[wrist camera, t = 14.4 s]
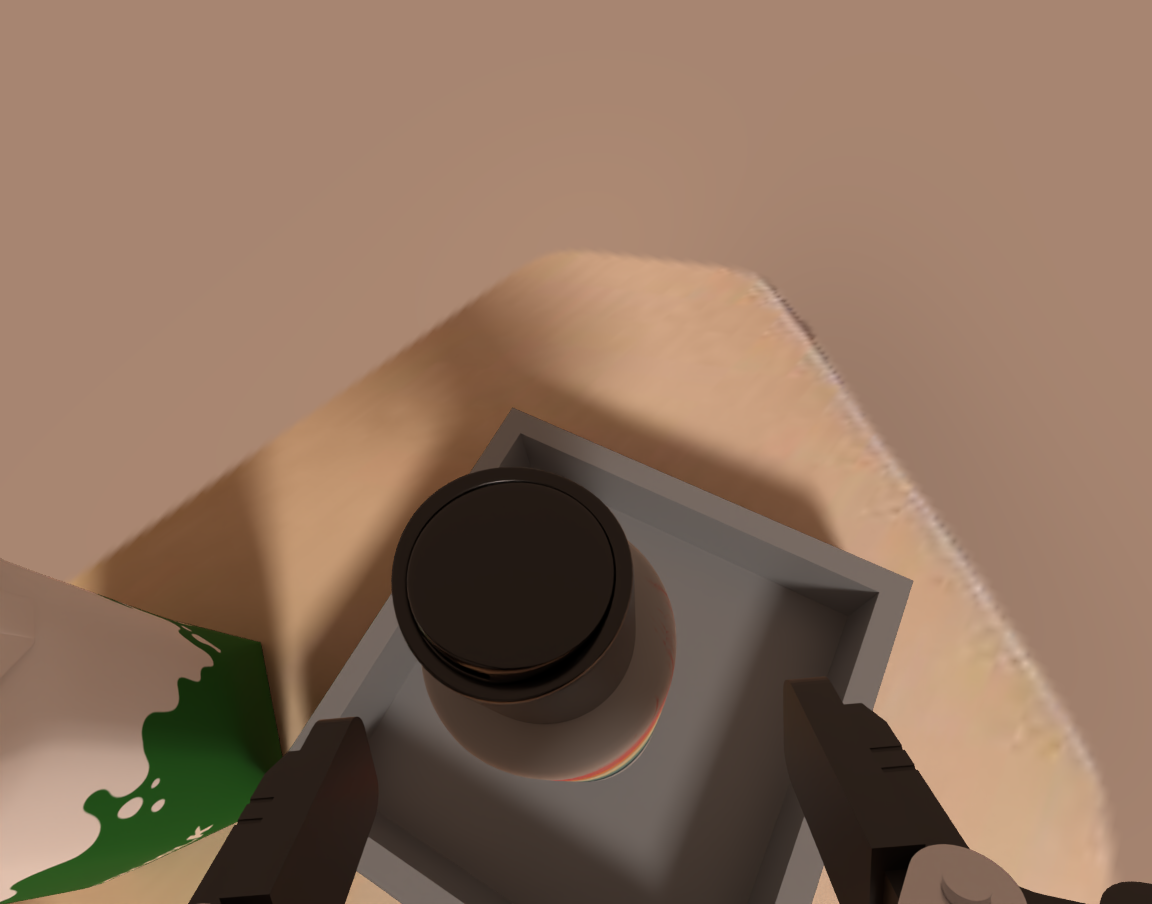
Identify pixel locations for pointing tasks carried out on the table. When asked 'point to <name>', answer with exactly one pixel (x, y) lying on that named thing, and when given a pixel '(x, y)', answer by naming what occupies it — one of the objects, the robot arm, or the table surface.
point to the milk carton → (117, 734)
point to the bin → (682, 734)
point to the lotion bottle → (535, 624)
